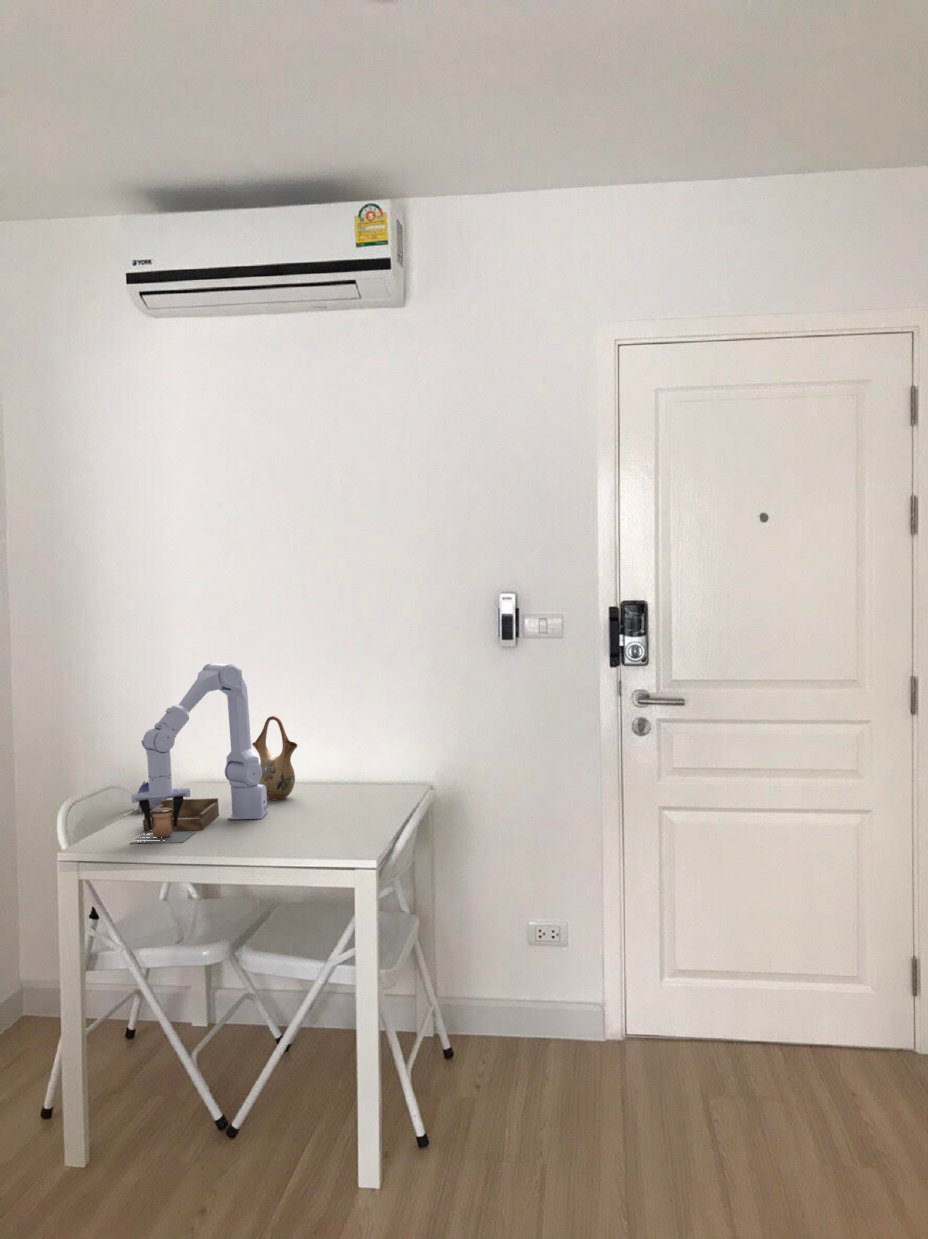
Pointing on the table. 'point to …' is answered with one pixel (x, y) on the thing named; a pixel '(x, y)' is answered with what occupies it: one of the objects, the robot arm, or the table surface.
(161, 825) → the terracotta pot
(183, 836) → the slate mat
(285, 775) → the ceramic vessel
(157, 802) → the flower
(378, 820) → the table surface
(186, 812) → the frame
